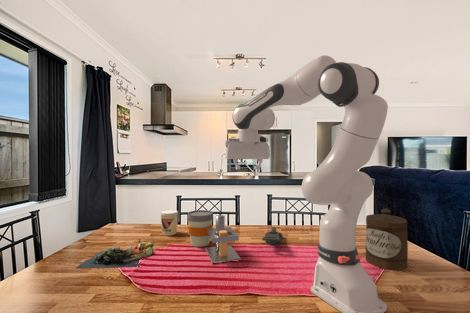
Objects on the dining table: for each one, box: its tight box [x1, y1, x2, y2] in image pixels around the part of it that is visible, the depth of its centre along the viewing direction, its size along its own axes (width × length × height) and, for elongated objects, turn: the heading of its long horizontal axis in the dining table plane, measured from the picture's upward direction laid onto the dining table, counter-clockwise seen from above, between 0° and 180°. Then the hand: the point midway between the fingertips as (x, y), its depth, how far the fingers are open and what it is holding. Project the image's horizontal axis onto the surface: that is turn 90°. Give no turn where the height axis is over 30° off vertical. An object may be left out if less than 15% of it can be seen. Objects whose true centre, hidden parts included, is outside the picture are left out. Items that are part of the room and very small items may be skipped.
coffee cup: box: [160, 209, 179, 237], centre depth 142 cm, size 9×9×12 cm
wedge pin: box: [219, 230, 228, 257], centre depth 110 cm, size 3×3×10 cm
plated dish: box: [75, 238, 155, 269], centre depth 111 cm, size 35×28×7 cm
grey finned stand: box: [204, 214, 242, 264], centre depth 112 cm, size 16×12×16 cm
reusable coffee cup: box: [187, 209, 214, 247], centre depth 127 cm, size 12×13×15 cm
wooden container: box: [365, 207, 409, 271], centre depth 106 cm, size 15×15×22 cm
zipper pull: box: [261, 226, 284, 247], centre depth 126 cm, size 9×7×25 cm
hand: (247, 169), depth 116 cm, fingers open, 8 cm apart
